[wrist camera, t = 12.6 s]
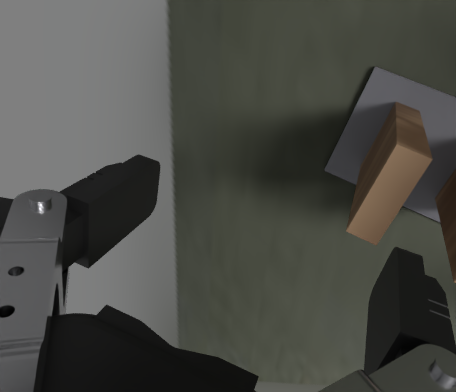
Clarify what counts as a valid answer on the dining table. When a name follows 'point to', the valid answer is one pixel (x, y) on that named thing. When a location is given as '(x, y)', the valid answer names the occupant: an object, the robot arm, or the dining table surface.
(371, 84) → the felt strip
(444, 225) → the domino
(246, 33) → the dining table surface
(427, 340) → the robot arm
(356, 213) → the domino
